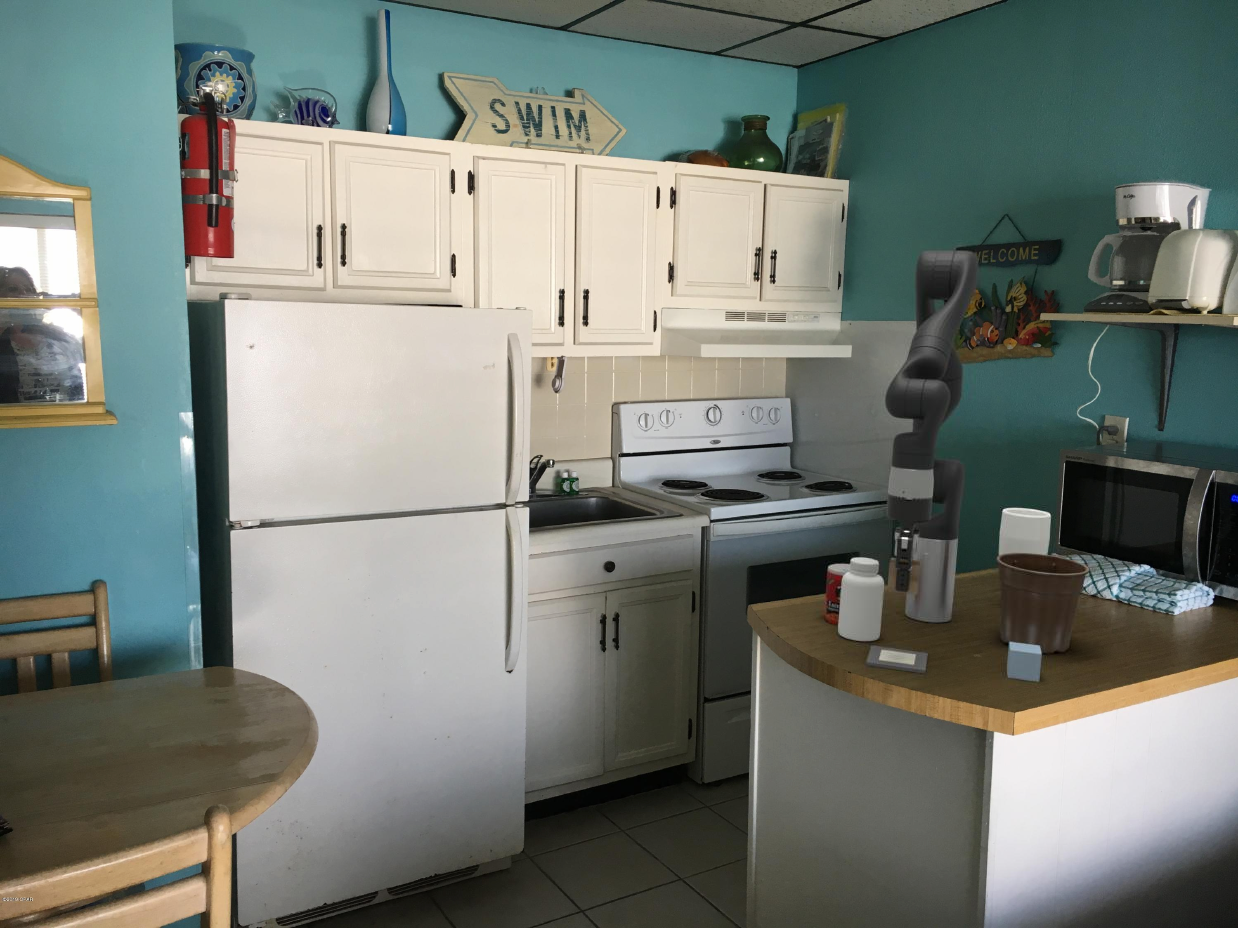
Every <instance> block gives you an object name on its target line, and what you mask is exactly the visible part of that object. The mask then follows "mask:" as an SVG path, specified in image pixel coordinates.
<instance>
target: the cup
mask: <svg viewBox="0 0 1238 928" xmlns="http://www.w3.org/2000/svg"><path fill="white" fill-rule="evenodd" d="M1001 512H1002V513H1001V520H1000V529H999V540H998V541H999V542H998V543H999V544H998V556H999V555H1002V554H1006V553H1033V554H1043V555H1048V552H1049V545H1050V539H1051V537H1050V536H1051V519H1052V515H1051V513H1050V512H1048V511H1043V510H1038V509H1032V508H1024V507H1023V508H1022V507H1007V508H1004V509H1003V510H1002V511H1001Z"/></svg>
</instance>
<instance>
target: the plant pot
mask: <svg viewBox="0 0 1238 928" xmlns="http://www.w3.org/2000/svg"><path fill="white" fill-rule="evenodd" d="M996 562H997V563H998V579H999V582H1000V639H1001V641H1002V642H1003V643H1005V644H1009V642H1015V643H1023V644H1031V645H1039V646H1040V649H1041V653H1042V654H1054V652H1058V653H1065V652H1066V651H1068V648H1069V647H1070V640H1071V636H1072V635H1071V634H1072V631H1073V625H1074V621H1075V616H1076V611H1077V607H1078V602H1079V599H1080V594H1081V592H1082V590H1083V588H1084V583H1085V580H1086V575H1087V574H1089V572H1090V568H1089V566H1087V565H1086V564H1084V563H1082V562H1078V561H1076V560H1072V559H1070V558H1065V557H1061V556H1057V555H1051V554H1050V555H1049V554H1047V555H1043V554H1033V553H1006V554H1002V555H999V554H998V556H997V557H996Z"/></svg>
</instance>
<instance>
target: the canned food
mask: <svg viewBox="0 0 1238 928" xmlns="http://www.w3.org/2000/svg"><path fill="white" fill-rule="evenodd" d="M850 571H851V570H850V563H834V564H830V565H828V566H827V573H826V589H825V604H824V606H825V607H824V617H825V620H826V622H827V623H830V624H832V625H836V626H838V623H839V610H840V598H841V585H842V578H843V576H844V574H846V573H847V572H850Z"/></svg>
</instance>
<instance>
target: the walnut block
mask: <svg viewBox="0 0 1238 928" xmlns="http://www.w3.org/2000/svg"><path fill="white" fill-rule="evenodd" d="M900 562H907V563H908V560H907V559H900ZM895 563H896V557H891V559H890V561H889V567H888V577H887V592H891V593H900V594H905V595H907V594H914V595H917V592H918V586H919V574H920V561H917V560H912V562H911V565H912V569H911V571H910V580H909V590H908V591H907V592H901V591H897V590H896V575H897V570H896V566H895Z"/></svg>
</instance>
